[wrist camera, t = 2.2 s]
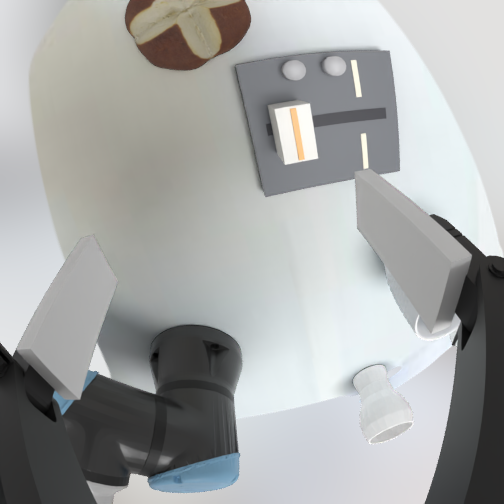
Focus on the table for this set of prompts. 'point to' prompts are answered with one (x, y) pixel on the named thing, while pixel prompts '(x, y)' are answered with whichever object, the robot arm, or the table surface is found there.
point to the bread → (186, 29)
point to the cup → (381, 406)
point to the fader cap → (293, 131)
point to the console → (324, 115)
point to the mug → (416, 313)
